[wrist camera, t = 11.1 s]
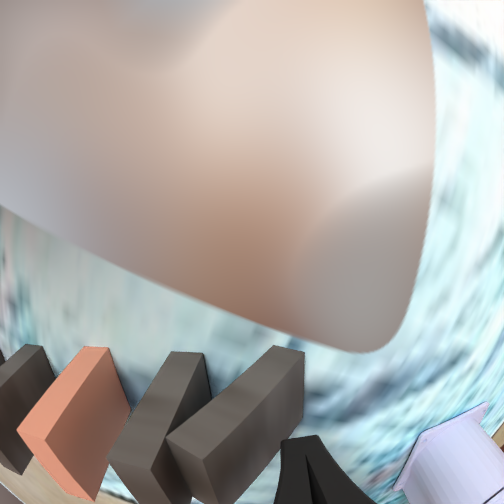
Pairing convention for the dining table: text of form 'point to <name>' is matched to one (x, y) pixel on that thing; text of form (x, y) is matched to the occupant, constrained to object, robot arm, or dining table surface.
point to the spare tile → (78, 422)
